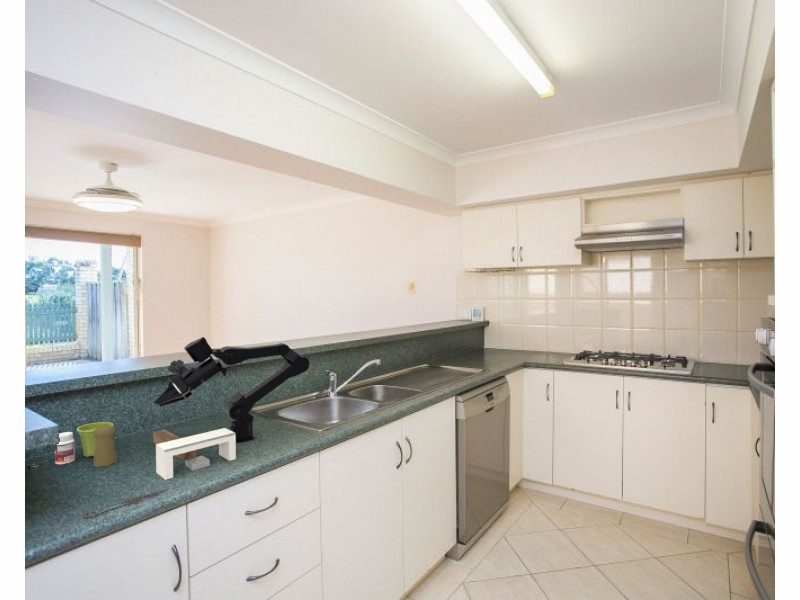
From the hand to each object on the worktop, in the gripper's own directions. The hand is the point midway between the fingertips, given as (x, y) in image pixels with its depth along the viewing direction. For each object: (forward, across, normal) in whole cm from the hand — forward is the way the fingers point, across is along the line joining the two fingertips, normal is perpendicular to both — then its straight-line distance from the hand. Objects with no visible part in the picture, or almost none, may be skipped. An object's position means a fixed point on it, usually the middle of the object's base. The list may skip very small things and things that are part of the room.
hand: (157, 404), depth 138 cm
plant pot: (+22, -13, 0) cm, 26 cm away
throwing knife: (+16, +26, +20) cm, 36 cm away
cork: (+20, -3, +5) cm, 21 cm away
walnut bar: (+5, -7, +14) cm, 17 cm away
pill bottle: (+29, -8, -2) cm, 30 cm away
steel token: (+1, +9, +23) cm, 25 cm away
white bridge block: (+1, +9, +23) cm, 24 cm away
